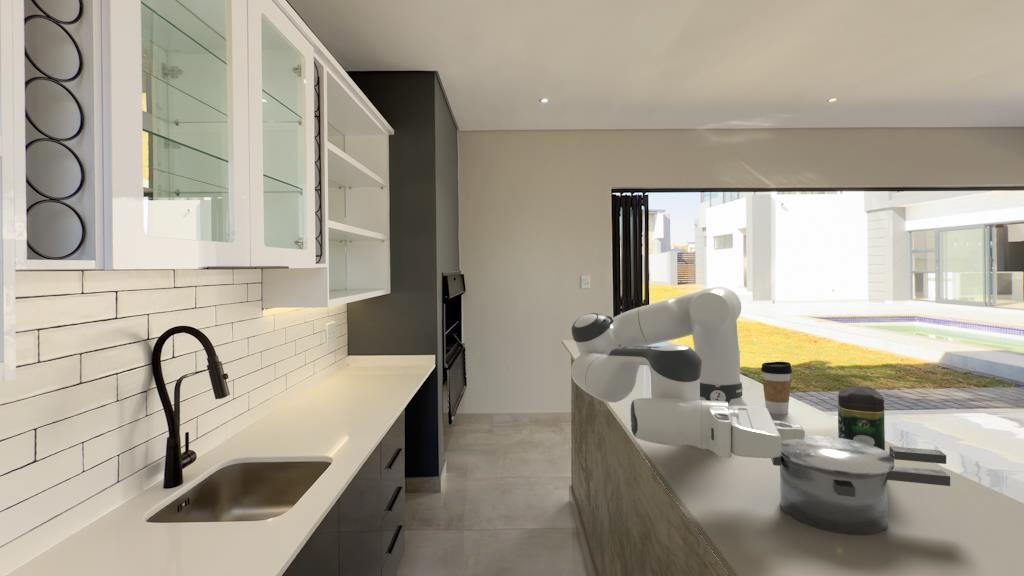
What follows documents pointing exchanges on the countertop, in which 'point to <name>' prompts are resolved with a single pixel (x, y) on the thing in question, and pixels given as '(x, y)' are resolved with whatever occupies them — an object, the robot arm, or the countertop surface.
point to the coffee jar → (861, 416)
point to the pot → (844, 495)
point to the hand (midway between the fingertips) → (803, 432)
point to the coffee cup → (776, 386)
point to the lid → (852, 455)
